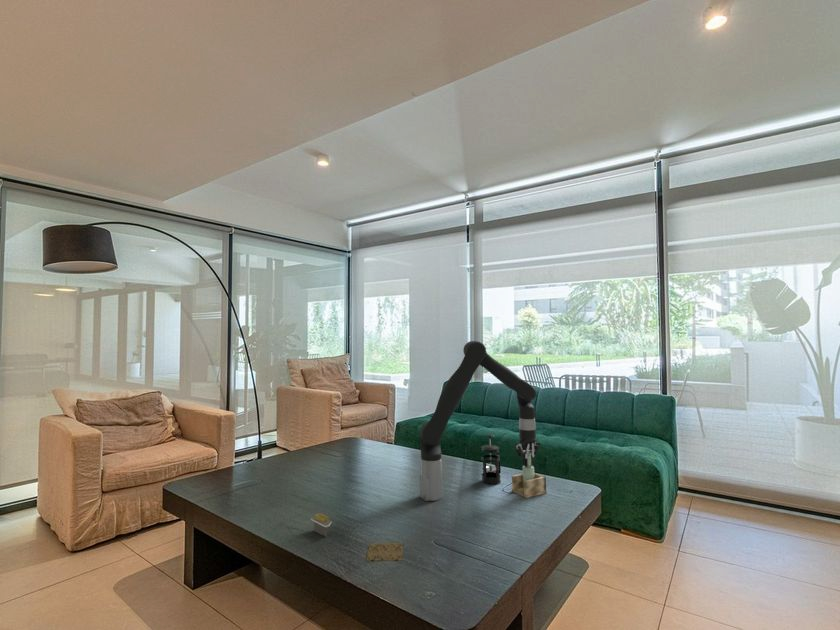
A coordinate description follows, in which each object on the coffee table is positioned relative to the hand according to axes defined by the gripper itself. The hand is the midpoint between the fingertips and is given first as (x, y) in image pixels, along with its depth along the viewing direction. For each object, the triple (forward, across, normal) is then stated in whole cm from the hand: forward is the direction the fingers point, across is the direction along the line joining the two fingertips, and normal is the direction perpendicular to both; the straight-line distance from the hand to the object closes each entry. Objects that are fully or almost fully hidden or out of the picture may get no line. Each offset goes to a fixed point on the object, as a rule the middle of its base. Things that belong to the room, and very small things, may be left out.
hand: (528, 465), depth 195 cm
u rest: (+12, 0, 0) cm, 12 cm away
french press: (+12, -6, +20) cm, 24 cm away
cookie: (+13, -79, -17) cm, 82 cm away
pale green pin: (+10, 0, 0) cm, 10 cm away
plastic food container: (+13, -94, +7) cm, 95 cm away
